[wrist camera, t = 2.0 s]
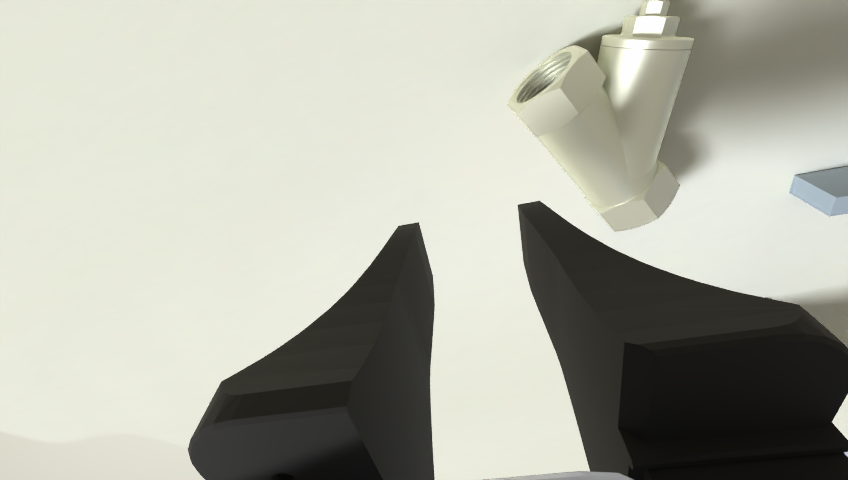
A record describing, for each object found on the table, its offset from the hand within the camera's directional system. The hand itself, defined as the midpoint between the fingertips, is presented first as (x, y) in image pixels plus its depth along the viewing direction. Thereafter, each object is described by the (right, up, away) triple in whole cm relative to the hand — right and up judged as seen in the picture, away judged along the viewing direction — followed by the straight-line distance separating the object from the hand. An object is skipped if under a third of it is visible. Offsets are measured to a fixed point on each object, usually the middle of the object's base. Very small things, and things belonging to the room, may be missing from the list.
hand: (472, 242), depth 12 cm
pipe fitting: (+7, +6, +7) cm, 12 cm away
